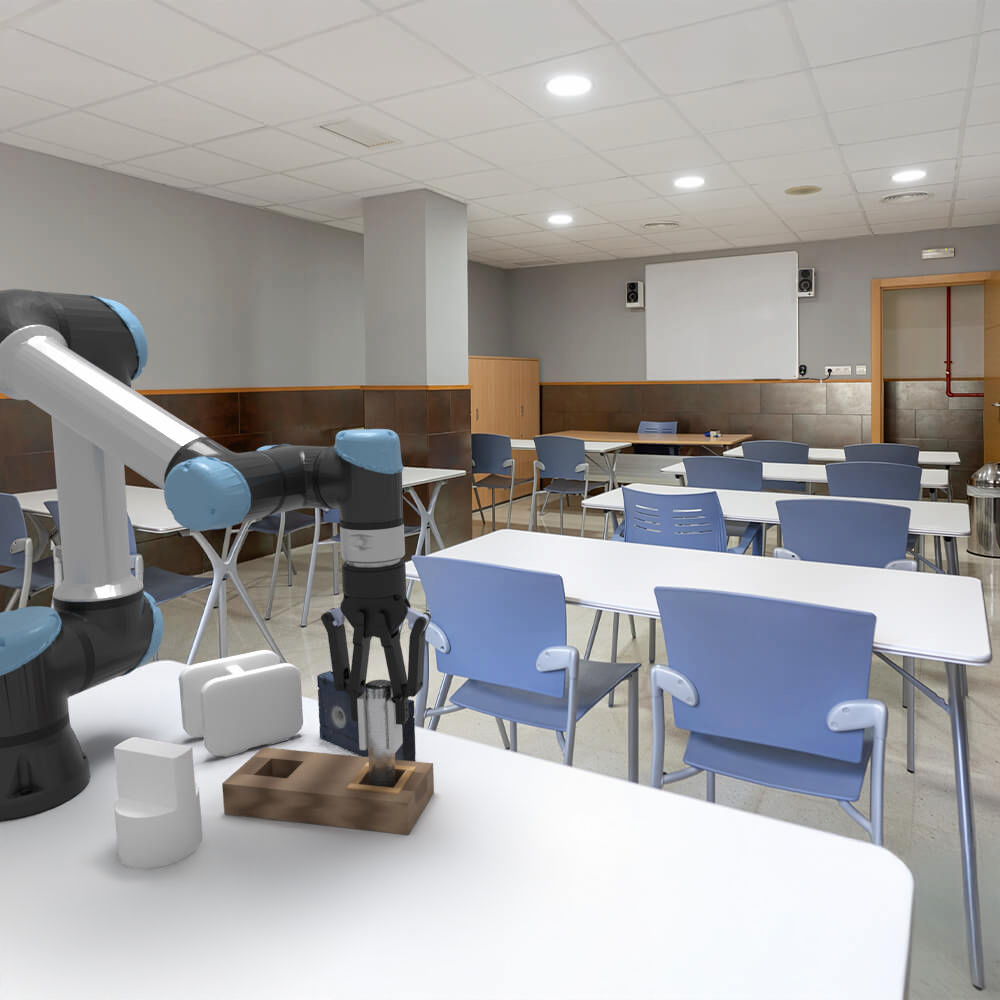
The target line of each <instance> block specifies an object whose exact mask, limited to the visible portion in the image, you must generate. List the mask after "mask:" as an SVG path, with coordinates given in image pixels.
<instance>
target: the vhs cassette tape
mask: <svg viewBox="0 0 1000 1000" xmlns="http://www.w3.org/2000/svg"><path fill="white" fill-rule="evenodd" d="M316 678H317V679H316V681H317V687H318V689H317V698H318V702H317V703H318V704H317V705H318V721H319V722H318V723H319V738H320V740H323V741H324V742H327V743H330V744H332V745H335V746H337V747H339V748H341V749H344V750H346V751H348V752H351V753H352V754H355V755H356V756H361V757H369V756H368V748H367V749H366V750H360V748H359V727H358V721H353V720H352V717H351V699H350V696H349V694H348V693H346V692H343V691H340V692H339V691H337V690H336V689H335V687H334V679H333V671H331V670H329V671H325V672H322V673H319V674H317V677H316ZM365 691H366V689H364V692H365ZM392 696H393V694H392ZM408 707H409V708H408V709H409V717H408V720H407V721H406V722H405V724H404V725H402V737H403V744H402V745H401V746H400V747H399V749H398V750H397V751H396V753H395V760H404V761H415V762H417V760H416V755H417V753H416V751H417V750H416V731H415V730H416V726H415V725H416V724H415V721H416V720H415V717H414V716H415V700H412V699H409V698H408Z"/></svg>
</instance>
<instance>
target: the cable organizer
mask: <svg viewBox="0 0 1000 1000" xmlns="http://www.w3.org/2000/svg"><path fill="white" fill-rule="evenodd" d="M301 675H302V674H301V670H300V669H299V668H298V667H296V666H295V665H294V664H292V663H289V662H287V663H286V662H283V663H282V662H281V658H280V656H279V655H278V654H276V653H275V652H274V651H271V650H268V649H260V650H255V651H251V652H247V653H246V652H245V653H242V654H241V653H240V654H236V655H232V656H227V657H223V658H221V657H220V658H216V659H213V660H207V661H204V662H198V663H193V664H190V665H188V666H186V667H185V668H184V669H183V670H182V671H181V672H180V674H179V676H178V682H179V684H178V685H179V695H180V707H181V708H180V710H181V722H182V723H181V724H182V728H183V730H184V731H185V733H186V734H187V735H188V736H190V737H193V738H203V745H204V749H206V751H207V752H208V753H209V754H210V755H212V756H215V757H216V756H217V757H222V756H223V757H224V758H227V757H231V756H234V755H238V754H241V753H245V752H247V751H248V750H249V749H251V748H256V747H259V746H262V745H266V744H267V745H269V746H270V745H274V744H277V743H281V742H285V741H288V740H290V738H292V737H293V736H295V735H296V734H298V733H299V732H300V731H301V730H302V728H303V725H304V715H303V714H304V713H303V698H302V697H303V696H302V695H303V694H302V678H301Z"/></svg>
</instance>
